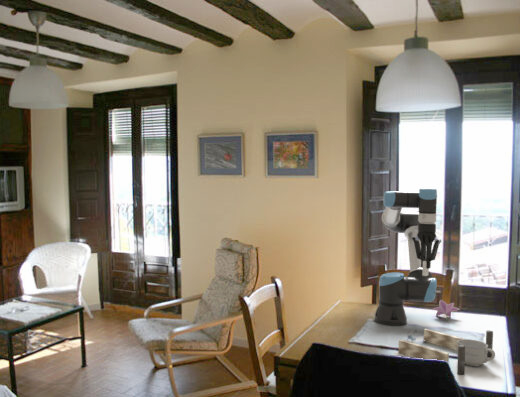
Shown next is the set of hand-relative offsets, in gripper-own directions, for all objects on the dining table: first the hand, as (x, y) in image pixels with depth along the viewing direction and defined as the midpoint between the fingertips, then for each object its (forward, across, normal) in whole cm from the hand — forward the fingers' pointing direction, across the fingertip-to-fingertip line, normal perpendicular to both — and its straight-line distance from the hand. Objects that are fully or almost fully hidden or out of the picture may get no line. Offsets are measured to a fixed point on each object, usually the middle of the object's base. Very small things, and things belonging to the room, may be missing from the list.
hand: (425, 275), depth 217 cm
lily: (+27, -4, +30) cm, 40 cm away
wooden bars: (+26, +19, -19) cm, 37 cm away
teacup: (+27, +31, -19) cm, 45 cm away
